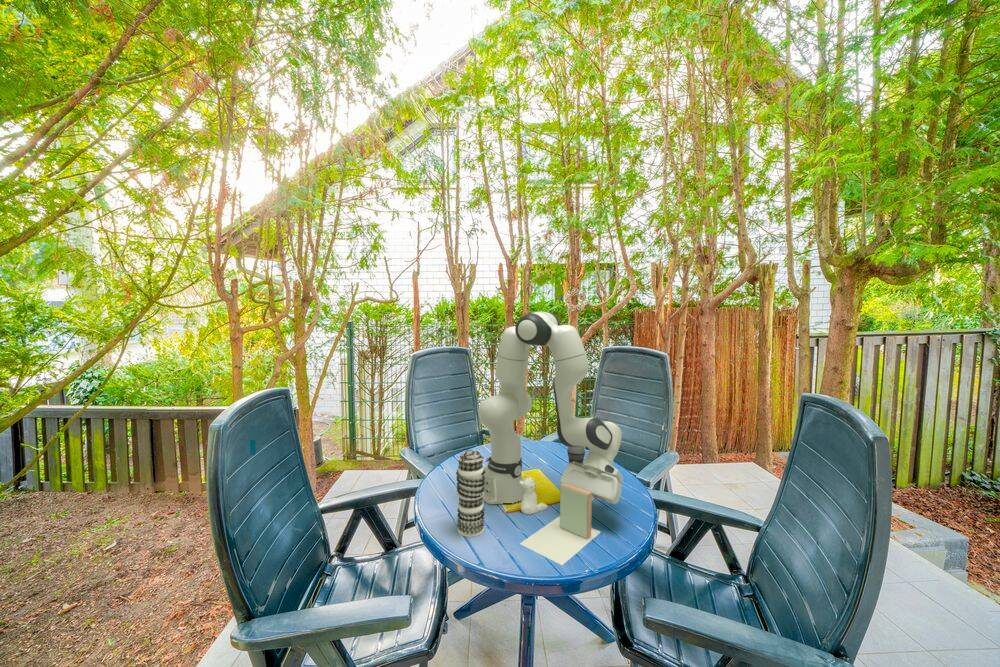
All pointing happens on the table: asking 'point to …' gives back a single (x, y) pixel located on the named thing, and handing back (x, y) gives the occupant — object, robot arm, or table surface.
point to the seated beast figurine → (530, 498)
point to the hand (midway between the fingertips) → (581, 506)
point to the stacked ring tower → (470, 493)
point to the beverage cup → (576, 454)
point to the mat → (557, 542)
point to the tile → (575, 510)
